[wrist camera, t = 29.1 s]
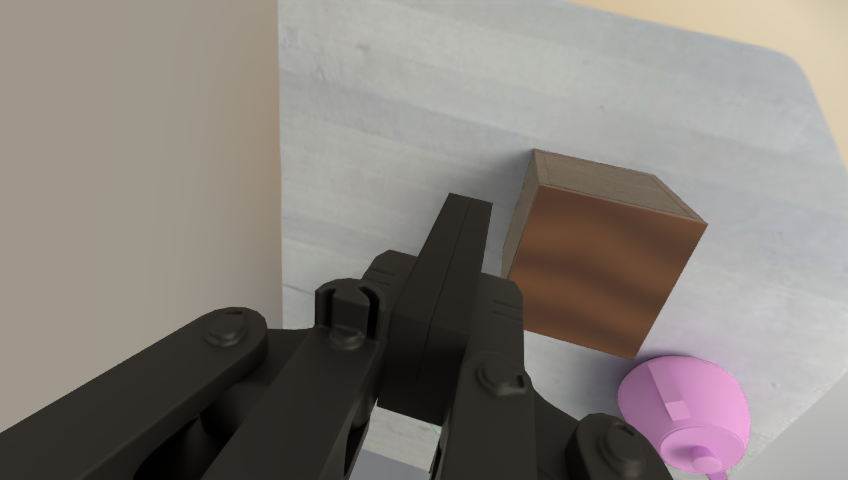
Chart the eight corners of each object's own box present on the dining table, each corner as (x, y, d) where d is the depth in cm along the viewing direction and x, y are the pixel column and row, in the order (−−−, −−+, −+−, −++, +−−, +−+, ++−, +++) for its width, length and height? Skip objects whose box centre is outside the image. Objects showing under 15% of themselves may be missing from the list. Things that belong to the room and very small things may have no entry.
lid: (631, 355, 37) (633, 360, 37) (495, 317, 39) (495, 322, 38) (704, 220, 31) (708, 223, 30) (539, 182, 33) (539, 184, 32)
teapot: (588, 351, 55) (604, 421, 45) (703, 317, 49) (753, 389, 38) (646, 444, 61) (673, 525, 51) (757, 424, 54) (813, 513, 44)
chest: (606, 273, 49) (632, 339, 38) (503, 247, 51) (498, 303, 40) (654, 175, 42) (704, 220, 31) (534, 148, 44) (539, 182, 33)
